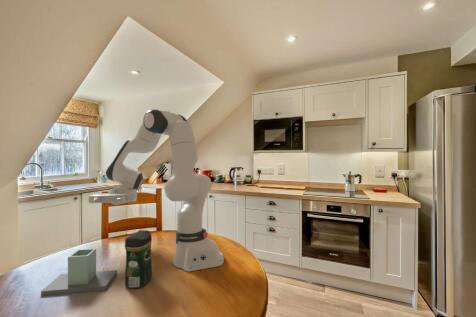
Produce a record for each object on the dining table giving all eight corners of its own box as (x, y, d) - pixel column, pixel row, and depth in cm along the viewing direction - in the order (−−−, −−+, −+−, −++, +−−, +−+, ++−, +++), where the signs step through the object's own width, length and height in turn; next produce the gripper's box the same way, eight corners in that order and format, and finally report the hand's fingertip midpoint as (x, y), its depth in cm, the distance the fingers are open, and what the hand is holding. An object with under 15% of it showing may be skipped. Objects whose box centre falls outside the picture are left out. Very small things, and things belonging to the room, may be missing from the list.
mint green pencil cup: (96, 274, 85) (96, 248, 85) (87, 283, 79) (87, 255, 79) (77, 275, 84) (77, 249, 84) (67, 285, 78) (67, 257, 78)
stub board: (117, 273, 89) (117, 257, 89) (105, 290, 78) (105, 271, 78) (61, 277, 85) (61, 261, 85) (41, 295, 74) (41, 276, 74)
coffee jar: (135, 274, 88) (136, 228, 88) (154, 275, 87) (155, 229, 87) (120, 289, 79) (120, 236, 78) (141, 290, 78) (141, 238, 78)
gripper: (96, 189, 110) (81, 194, 97) (139, 188, 114) (131, 192, 100) (96, 202, 110) (81, 208, 97) (139, 201, 114) (131, 206, 100)
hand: (107, 200), depth 98 cm, fingers open, 8 cm apart
